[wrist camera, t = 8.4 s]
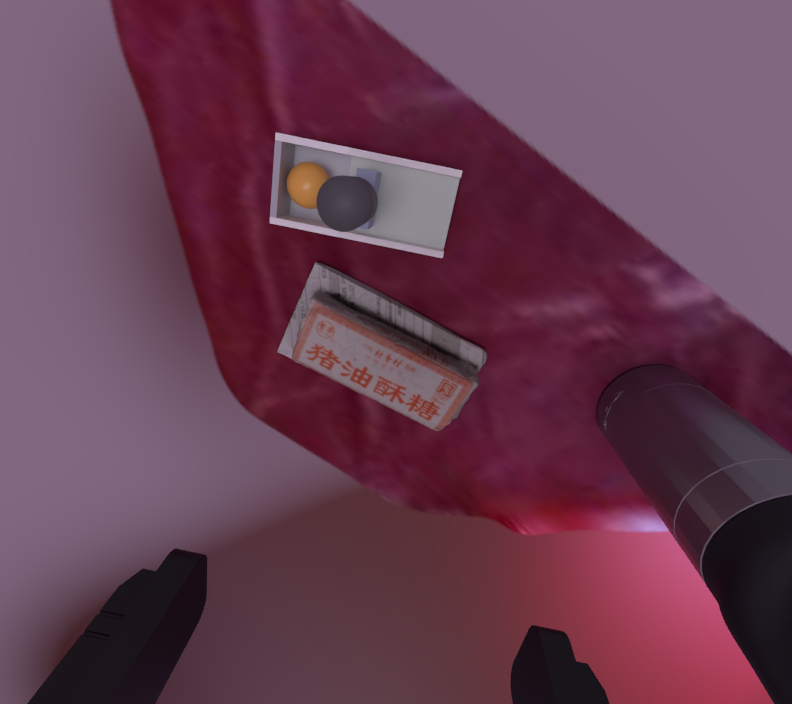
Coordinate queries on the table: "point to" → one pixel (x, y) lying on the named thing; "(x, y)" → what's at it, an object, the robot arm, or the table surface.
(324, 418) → the table surface
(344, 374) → the packaged product
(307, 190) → the ball
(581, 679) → the robot arm
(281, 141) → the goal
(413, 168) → the tray
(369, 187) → the striker
